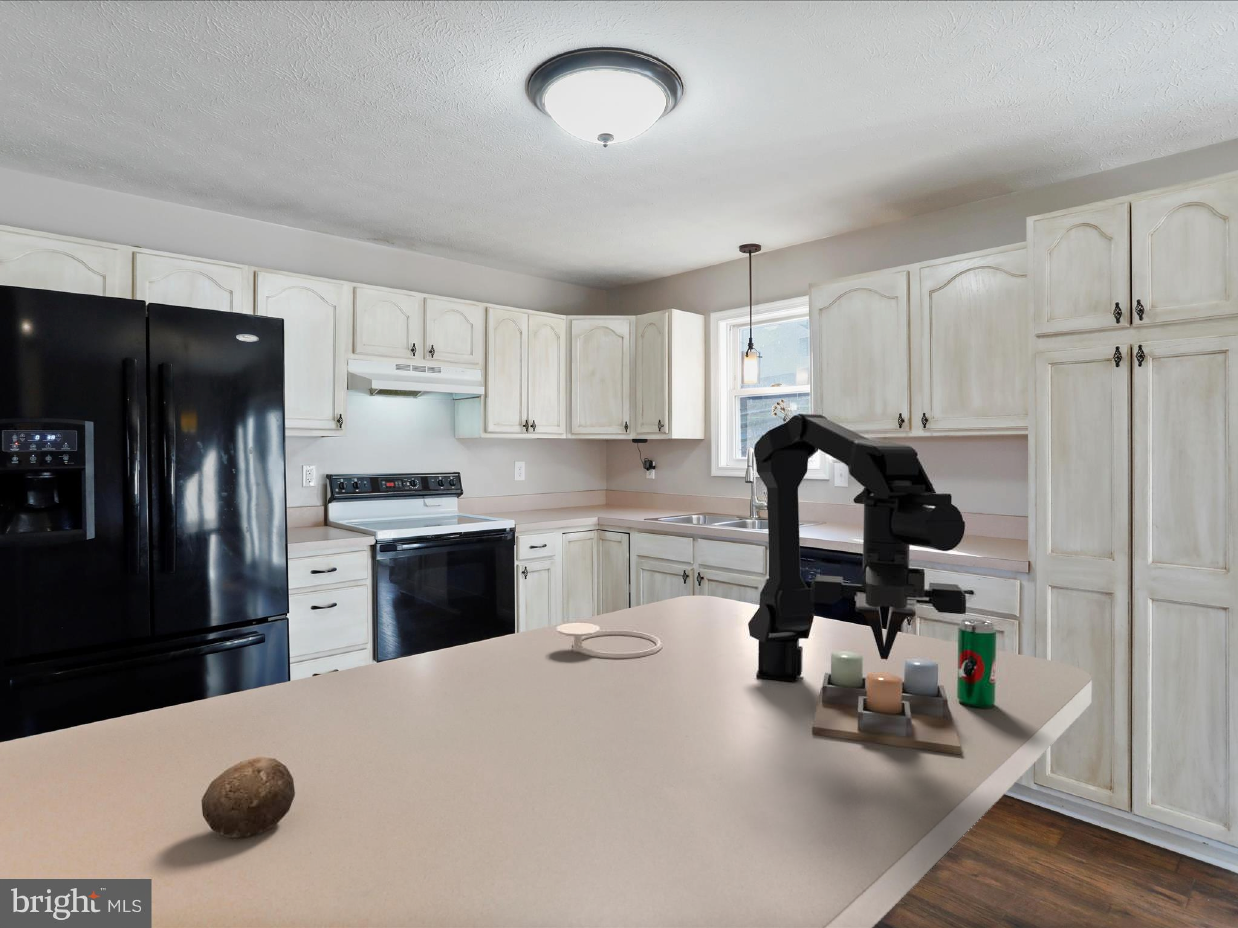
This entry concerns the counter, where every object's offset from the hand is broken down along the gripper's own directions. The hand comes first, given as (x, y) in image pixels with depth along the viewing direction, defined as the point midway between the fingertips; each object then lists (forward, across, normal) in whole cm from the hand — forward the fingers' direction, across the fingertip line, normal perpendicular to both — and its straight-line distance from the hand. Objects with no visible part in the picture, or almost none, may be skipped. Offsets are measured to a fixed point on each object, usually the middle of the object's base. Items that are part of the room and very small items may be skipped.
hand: (884, 658), depth 94 cm
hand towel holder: (+10, -48, +25) cm, 55 cm away
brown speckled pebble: (+10, -59, -47) cm, 76 cm away
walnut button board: (+10, 0, +4) cm, 11 cm away
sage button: (+7, -5, +9) cm, 12 cm away
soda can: (+10, +13, +16) cm, 23 cm away
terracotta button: (+7, 0, 0) cm, 7 cm away
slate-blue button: (+7, +5, +9) cm, 12 cm away
